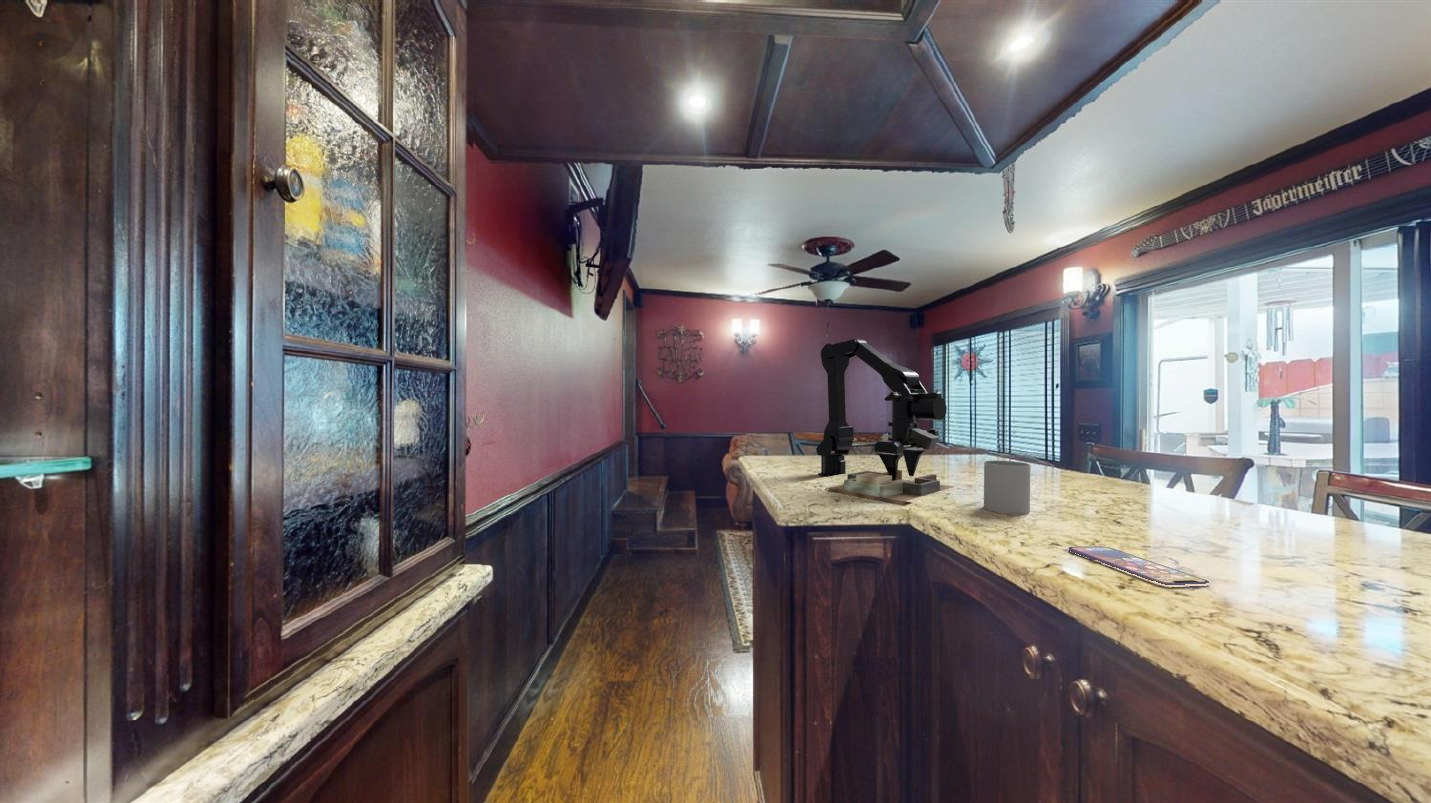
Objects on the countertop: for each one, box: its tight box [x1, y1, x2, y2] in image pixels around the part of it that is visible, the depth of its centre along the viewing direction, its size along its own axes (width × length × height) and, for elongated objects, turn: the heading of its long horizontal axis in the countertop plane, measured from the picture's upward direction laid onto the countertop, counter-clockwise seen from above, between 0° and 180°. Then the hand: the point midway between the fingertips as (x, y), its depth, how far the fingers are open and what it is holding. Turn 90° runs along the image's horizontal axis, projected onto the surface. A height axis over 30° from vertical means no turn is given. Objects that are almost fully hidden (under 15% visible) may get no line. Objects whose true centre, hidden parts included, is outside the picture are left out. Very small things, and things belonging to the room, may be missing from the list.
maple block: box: [856, 472, 892, 485], centre depth 116 cm, size 6×6×4 cm
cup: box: [983, 460, 1031, 516], centre depth 102 cm, size 8×8×10 cm
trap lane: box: [827, 469, 954, 507], centre depth 122 cm, size 20×26×4 cm
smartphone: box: [1068, 545, 1210, 585], centre depth 69 cm, size 1×7×15 cm
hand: (902, 478), depth 125 cm, fingers open, 9 cm apart
